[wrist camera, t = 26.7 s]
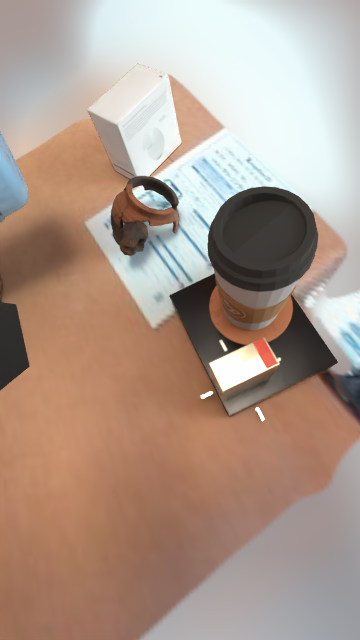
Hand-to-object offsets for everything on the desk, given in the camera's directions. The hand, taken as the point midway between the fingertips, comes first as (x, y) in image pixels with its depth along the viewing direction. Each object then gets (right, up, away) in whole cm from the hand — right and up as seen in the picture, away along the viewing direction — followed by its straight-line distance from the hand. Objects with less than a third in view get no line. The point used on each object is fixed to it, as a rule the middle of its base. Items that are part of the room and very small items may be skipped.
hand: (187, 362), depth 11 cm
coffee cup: (+8, +3, +26) cm, 27 cm away
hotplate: (+7, -1, +27) cm, 28 cm away
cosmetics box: (-6, +28, +41) cm, 50 cm away
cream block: (+6, -5, +23) cm, 25 cm away
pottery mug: (-5, +14, +35) cm, 38 cm away
